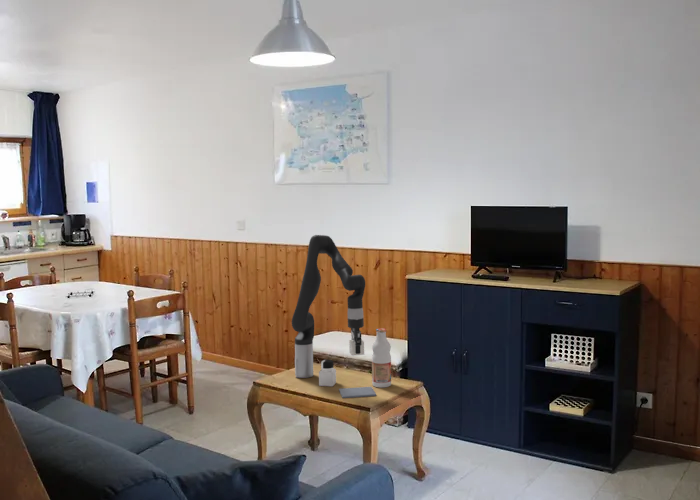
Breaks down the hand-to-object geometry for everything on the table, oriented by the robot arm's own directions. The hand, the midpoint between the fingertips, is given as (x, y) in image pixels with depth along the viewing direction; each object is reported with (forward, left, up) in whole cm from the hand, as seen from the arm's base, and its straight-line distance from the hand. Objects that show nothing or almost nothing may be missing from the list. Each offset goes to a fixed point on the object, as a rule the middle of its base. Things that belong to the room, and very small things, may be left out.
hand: (356, 351), depth 308 cm
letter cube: (0, 0, -1) cm, 1 cm away
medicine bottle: (-12, +15, -20) cm, 27 cm away
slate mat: (0, -2, -19) cm, 19 cm away
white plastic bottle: (+14, +8, -20) cm, 25 cm away
